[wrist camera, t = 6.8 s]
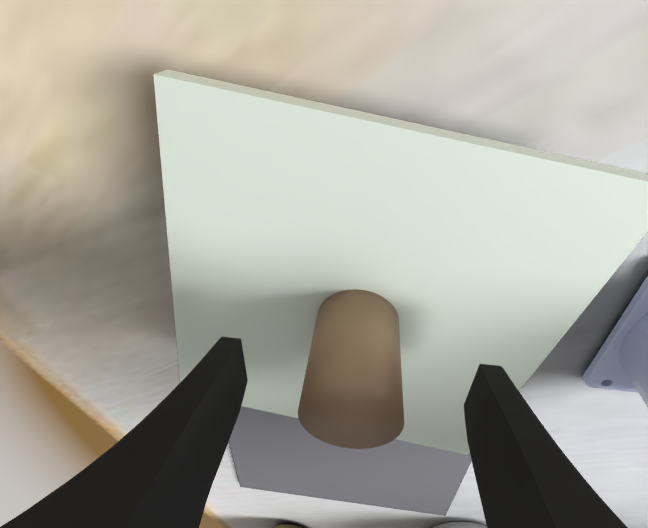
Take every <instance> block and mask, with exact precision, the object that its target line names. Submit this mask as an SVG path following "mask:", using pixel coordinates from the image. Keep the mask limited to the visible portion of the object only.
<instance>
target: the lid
mask: <svg viewBox="0 0 648 528" xmlns="http://www.w3.org/2000/svg"><path fill="white" fill-rule="evenodd" d="M153 76H154V87H155V99H156V111H157V122H158V134H159V145H160V157H161V169H162V180H163V192H164V203H165V215H166V226H167V238H168V250H169V261H170V273H171V284H172V296H173V308H174V319H175V331H176V342H177V354H178V366H179V377H180V382H181V381H182V380H183V379H184V378H185V377H186V376H187V375H188V374H189V373H190V372H191V371H192V370H193V368H194V367H195V366H196V365H197V364H198V363H199V362H200V361H201V359H202V358H203V357H204V356H205V355H206V354H207V353H208V351H209V350H210V349H211V348H212V347H213V346H214V344H215V343H216V342H217V341H218V340H219V339H220V338H221V337H230V338H240V339H241V341H242V348H243V354H244V360H245V366H246V373H247V379H248V382H247V386H246V390H245V394H244V398H243V401H242V405H241V406H243V407H248V408H252V409H257V410H262V411H266V412H271V413H276V414H280V415H285V416H290V417H294V418H299V421H300V423H301V425H302V426H303V427H304V429H305V430H306V431H307V432H308V433H310V434H311V435H312V436H314V437H315V438H317V439H319V440H321V441H323V442H325V443H328V444H331V445H334V446H338V447H343V448H350V449H368V448H375V447H379V446H382V445H385V444H388V443H389V442H391V441H393V440H394V439H396V440H401V441H406V442H410V443H415V444H420V445H424V446H429V447H434V448H438V449H443V450H448V451H452V452H457V453H461V454H466V455H468V454H469V453H470V450H469V446H468V441H467V433H466V425H465V415H464V403H465V400H466V398H467V395H468V393H469V390H470V387H471V385H472V382H473V380H474V377H475V375H476V372H477V369H478V367H479V364H488V365H497V366H502V367H503V369H504V370H505V371H506V373H507V374H508V376H509V377H510V379H511V380H512V382H513V383H514V385H515V386H516V388H517V389H518V391H520V389H521V388H522V387H523V386H524V384H525V383H526V382H527V381H528V379H529V378H530V377H531V376H532V374H533V373H534V372H535V371H536V369H537V368H538V367H539V366H540V364H541V363H542V362H543V361H544V360H545V358H546V357H547V356H548V355H549V353H550V352H551V351H552V350H553V348H554V347H555V346H556V345H557V343H558V342H559V341H560V340H561V338H562V337H563V336H564V335H565V333H566V332H567V331H568V330H569V328H570V327H571V326H572V325H573V323H574V322H575V321H576V320H577V319H578V317H579V316H580V315H581V314H582V312H583V311H584V310H585V309H586V307H587V306H588V305H589V304H590V302H591V301H592V300H593V299H594V297H595V296H596V295H597V294H598V292H599V291H600V290H601V289H602V287H603V286H604V285H605V284H606V282H607V281H608V280H609V279H610V278H611V276H612V275H613V274H614V273H615V271H616V270H617V269H618V268H619V266H620V265H621V264H622V263H623V261H624V260H625V259H626V258H627V256H628V255H629V254H630V253H631V251H632V250H633V249H634V248H635V246H636V245H637V244H638V243H639V241H640V240H641V239H642V238H643V237H644V235H645V234H646V233H647V232H648V174H647V173H642V172H638V171H633V170H629V169H624V168H619V167H615V166H610V165H606V164H601V163H596V162H592V161H587V160H583V159H578V158H573V157H569V156H564V155H560V154H555V153H550V152H546V151H541V150H537V149H532V148H527V147H523V146H518V145H514V144H509V143H504V142H500V141H495V140H491V139H486V138H481V137H477V136H472V135H468V134H463V133H458V132H454V131H449V130H445V129H440V128H435V127H431V126H426V125H422V124H417V123H412V122H408V121H403V120H399V119H394V118H389V117H385V116H380V115H376V114H371V113H366V112H362V111H357V110H353V109H348V108H343V107H339V106H334V105H330V104H325V103H320V102H316V101H311V100H307V99H302V98H297V97H293V96H288V95H284V94H279V93H274V92H270V91H265V90H261V89H256V88H251V87H247V86H242V85H238V84H233V83H228V82H224V81H219V80H215V79H210V78H205V77H201V76H196V75H192V74H187V73H182V72H178V71H173V70H169V69H167V70H164V71H161V72H158V73H155V74H153Z"/></svg>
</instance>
